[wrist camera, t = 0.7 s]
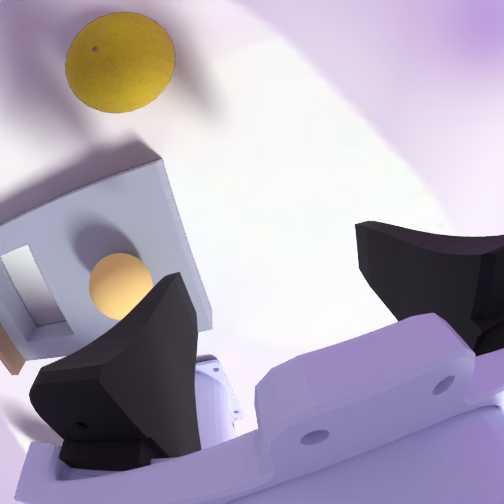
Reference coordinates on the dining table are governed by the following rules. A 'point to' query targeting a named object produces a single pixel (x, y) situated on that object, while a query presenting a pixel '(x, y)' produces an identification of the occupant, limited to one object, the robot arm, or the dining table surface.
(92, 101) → the lemon
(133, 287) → the ball
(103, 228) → the grey piece
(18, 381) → the dining table surface
